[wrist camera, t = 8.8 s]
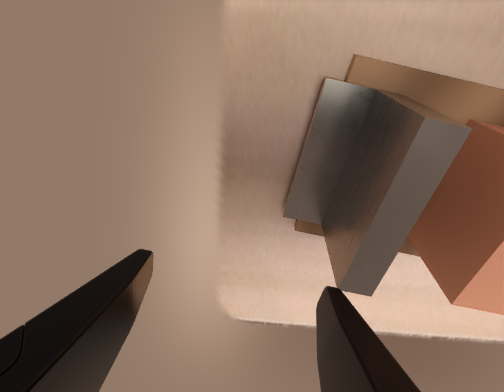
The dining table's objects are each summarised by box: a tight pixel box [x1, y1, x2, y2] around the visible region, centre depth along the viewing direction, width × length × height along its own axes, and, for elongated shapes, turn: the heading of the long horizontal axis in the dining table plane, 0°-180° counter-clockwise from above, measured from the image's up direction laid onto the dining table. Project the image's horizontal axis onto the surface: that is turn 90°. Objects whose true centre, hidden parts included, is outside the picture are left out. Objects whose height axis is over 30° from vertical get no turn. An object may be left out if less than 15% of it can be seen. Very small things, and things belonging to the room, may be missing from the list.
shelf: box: [295, 54, 504, 256], centre depth 18 cm, size 22×13×8 cm, turn 78°
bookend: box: [283, 77, 473, 296], centre depth 17 cm, size 5×10×7 cm, turn 168°
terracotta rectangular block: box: [407, 119, 504, 315], centre depth 17 cm, size 4×9×7 cm, turn 168°
